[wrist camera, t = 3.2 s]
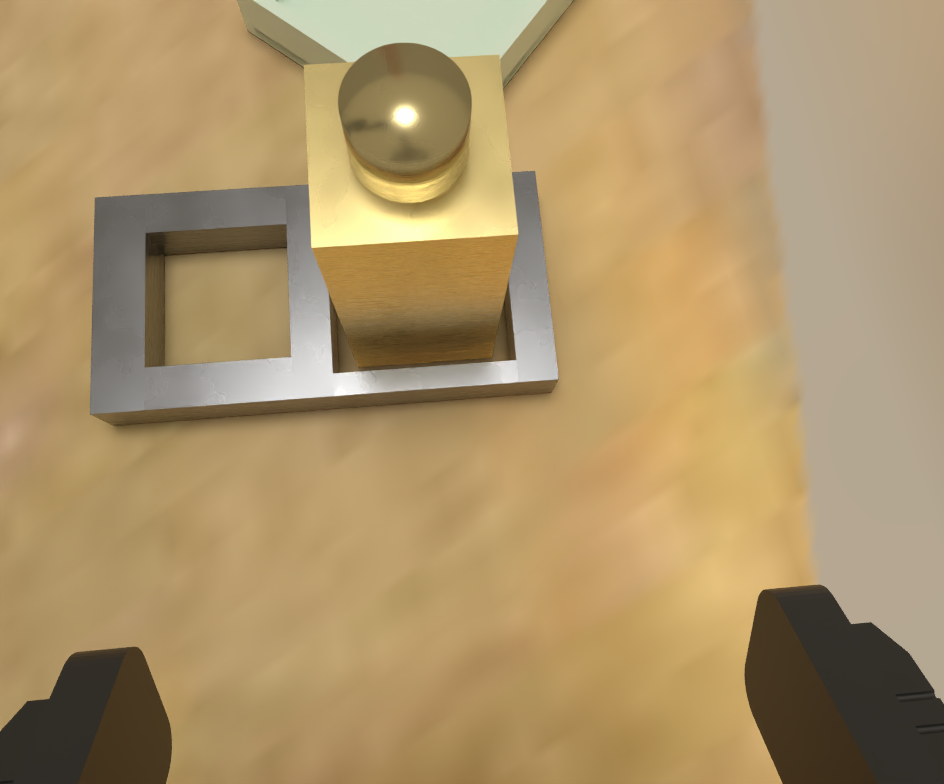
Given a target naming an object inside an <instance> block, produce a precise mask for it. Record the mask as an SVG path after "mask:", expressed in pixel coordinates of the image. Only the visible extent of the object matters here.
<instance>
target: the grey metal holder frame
mask: <svg viewBox="0 0 944 784" xmlns="http://www.w3.org/2000/svg"><path fill="white" fill-rule="evenodd" d="M512 178H513V188H514V197H515V206H516V216H517V225H518V239H517V243H516V248H515V253H514V257H513V262H512V266H511V271H510V275H509V280H508V285H507V289H506V294H505V298H504V302H505V312H506V322H507V332H508V342H509V352H510V361H497V362H483V363H470V364H456V365H442V366H429V367H415V368H401V369H388V370H374V371H360V372H347V373H339V358H338V338H337V318H336V309H335V307H334V304H333V302H332V299H331V297H330V294H329V291H328V289H327V286H326V284H325V281H324V279H323V276H322V274H321V271H320V268H319V266H318V263H317V261H316V258H315V256H314V253H313V250H312V248H311V226H310V202H309V185H295V186H278V187H262V188H245V189H229V190H212V191H196V192H179V193H163V194H146V195H130V196H114V197H97V198H95V219H94V262H93V305H92V348H91V391H90V415H93V416H95V417H97V418H99V419H101V420H103V421H105V422H107V423H109V424H111V425H113V426H114V425H127V424H140V423H153V422H167V421H180V420H193V419H206V418H220V417H233V416H246V415H259V414H272V413H286V412H299V411H312V410H325V409H338V408H352V407H365V406H378V405H391V404H405V403H418V402H431V401H444V400H457V399H471V398H484V397H497V396H510V395H523V394H537V393H550V392H552V390H553V388H554V387H555V385H556V383H557V381H558V379H559V378H558V369H557V360H556V351H555V343H554V334H553V325H552V316H551V307H550V299H549V290H548V281H547V272H546V263H545V255H544V246H543V237H542V228H541V219H540V211H539V202H538V193H537V184H536V175H535V171H526V172H512ZM282 247H287V252H288V280H289V308H290V337H291V357H285V358H271V359H257V360H243V361H229V362H215V363H201V364H187V365H174V366H164V255H173V254H189V253H204V252H220V251H235V250H251V249H266V248H282Z"/></svg>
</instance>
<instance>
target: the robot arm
mask: <svg viewBox="0 0 944 784" xmlns="http://www.w3.org/2000/svg"><path fill="white" fill-rule="evenodd" d="M745 686H746V693H747V697H748V701H749V705H750V708H751V711H752V714H753V717H754V719H755V721H756V724H757V726H758V728H759V730H760V733H761V735H762V737H763V740H764V742H765V744H766V746H767V749H768V751H769V753H770V756H771V758H772V760H773V762H774V765H775V767H776V769H777V771H778V774H779V776H780V778H781V781H782V783H783V784H944V704H943V702H942V701H941V699H939V698H936V697H935V694H934V689H933V688H932V686H931V685H930V683H929V682H928V681H927V679H926V678H925V676H924V675H923V673H922V672H921V670H920V669H919V667H918V666H917V664H916V663H915V661H914V660H913V658H912V657H911V656H910V654H909V653H908V652H907V651H905V650H904V649H903V648H902V647H901V646H899V645H898V644H897V643H896V642H894V641H893V640H892V639H891V638H890V637H888V636H887V635H886V634H885V633H883V632H882V631H881V630H880V629H879V628H877V627H876V626H875V625H874V624H872V623H871V622H870V623H859V624H851V623H850V622H849V620H848V619H847V617H846V616H845V614H844V612H843V611H842V609H841V608H840V606H839V604H838V603H837V601H836V600H835V598H834V597H833V595H832V594H831V592H830V591H829V590H828V589H827V588H826V587H824V586H822V585H809V586H798V587H788V588H777V589H767V590H763V591H762V592H761V593H760V595H759V597H758V601H757V606H756V611H755V616H754V621H753V627H752V632H751V637H750V642H749V647H748V653H747V658H746V663H745ZM171 751H172V738H171V728H170V723H169V720H168V717H167V714H166V712H165V709H164V706H163V704H162V701H161V699H160V696H159V693H158V691H157V688H156V686H155V683H154V680H153V678H152V675H151V672H150V670H149V667H148V665H147V662H146V659H145V657H144V655H143V653H142V651H141V650H140V649H139V648H138V647H127V648H116V649H106V650H95V651H84V652H76V653H74V654H72V655H71V656H70V657H69V658H68V660H67V661H66V663H65V665H64V667H63V669H62V671H61V673H60V676H59V678H58V680H57V683H56V685H55V687H54V689H53V692H52V694H51V696H50V699H46V700H36V701H27V702H26V704H25V705H24V706H23V707H22V708H21V709H20V710H19V711H18V712H17V714H16V715H15V716H14V717H13V718H12V719H11V720H10V721H9V722H8V724H7V725H6V726H5V727H4V728H3V729H2V730H1V731H0V784H166V781H167V777H168V773H169V768H170V762H171Z"/></svg>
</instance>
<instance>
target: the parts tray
mask: <svg viewBox="0 0 944 784" xmlns="http://www.w3.org/2000/svg"><path fill="white" fill-rule="evenodd" d="M237 2H238V4H239V7H240V10H241V13H242V16H243V18H244V21H245V24H246V27H247V30H248V31H249V32H251V33H252V34H254V35H255V36H257V37H258V38H260V39H261V40H263V41H264V42H266V43H267V44H269V45H270V46H272V47H273V48H275V49H276V50H278V51H279V52H281V53H282V54H284V55H286V56H287V57H289V58H290V59H292V60H293V61H295V62H296V63H298V64H299V65H301V66H302V67H304V65H309V64H328V63H347V62H356V61H357V60H358V59H359V58H360V57H361V56H363V55H364V54H366V53H367V52H369V51H371V50H373V49H375V48H378V47H381V46H383V45H388V44H392V43H417V44H422V45H426V46H429V47H431V48H434V49H436V50H438V51H440V52H442V53H443V54H445V55H446V56H448V57H462V56H481V55H499V56H500V65H501V75H502V84H503V88H504V87H505V86H506V85H507V83H508V82H509V81H510V80H511V78H512V77H513V76H514V75H515V73H516V72H517V71H518V69H519V68H520V67H521V66H522V64H523V63H524V62H525V61H526V59H527V58H528V57H529V56H530V54H531V53H532V52H533V51H534V49H535V48H536V47H537V46H538V44H539V43H540V42H541V41H542V39H543V38H544V37H545V36H546V34H547V33H548V32H549V31H550V29H551V28H552V27H553V25H554V24H555V23H556V22H557V20H558V19H559V18H560V17H561V15H562V14H563V13H564V12H565V10H566V9H567V8H568V7H569V5H570V4H571V3H572V2H573V0H237Z"/></svg>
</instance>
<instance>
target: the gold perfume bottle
mask: <svg viewBox="0 0 944 784" xmlns="http://www.w3.org/2000/svg"><path fill="white" fill-rule="evenodd" d="M304 86H305V109H306V133H307V156H308V179H309V202H310V226H311V248H312V250H313V253H314V256H315V258H316V261H317V263H318V266H319V268H320V271H321V274H322V276H323V279H324V281H325V284H326V286H327V289H328V291H329V294H330V297H331V299H332V302H333V304H334V307H335V309H336V312H337V315H338V317H339V320H340V322H341V325H342V327H343V330H344V332H345V335H346V338H347V340H348V343H349V345H350V348H351V350H352V353H353V356H354V358H355V361H356V363H357V366H358V367H371V366H385V365H399V364H413V363H426V362H440V361H454V360H468V359H481V358H492V353H493V349H494V344H495V340H496V335H497V330H498V326H499V321H500V317H501V312H502V308H503V303H504V298H505V294H506V289H507V285H508V280H509V275H510V271H511V266H512V262H513V257H514V253H515V248H516V243H517V239H518V225H517V216H516V206H515V197H514V188H513V178H512V169H511V159H510V150H509V141H508V131H507V122H506V112H505V103H504V94H503V84H502V75H501V65H500V56H499V55H481V56H462V57H448V56H446V55H445V54H443V53H442V52H440V51H438V50H436V49H434V48H431V47H429V46H426V45H422V44H417V43H392V44H388V45H383V46H381V47H378V48H375V49H373V50H371V51H369V52H367V53H366V54H364V55H363V56H361V57H360V58H359V59H358V60H357V61H356V62H347V63H328V64H309V65H304Z"/></svg>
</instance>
